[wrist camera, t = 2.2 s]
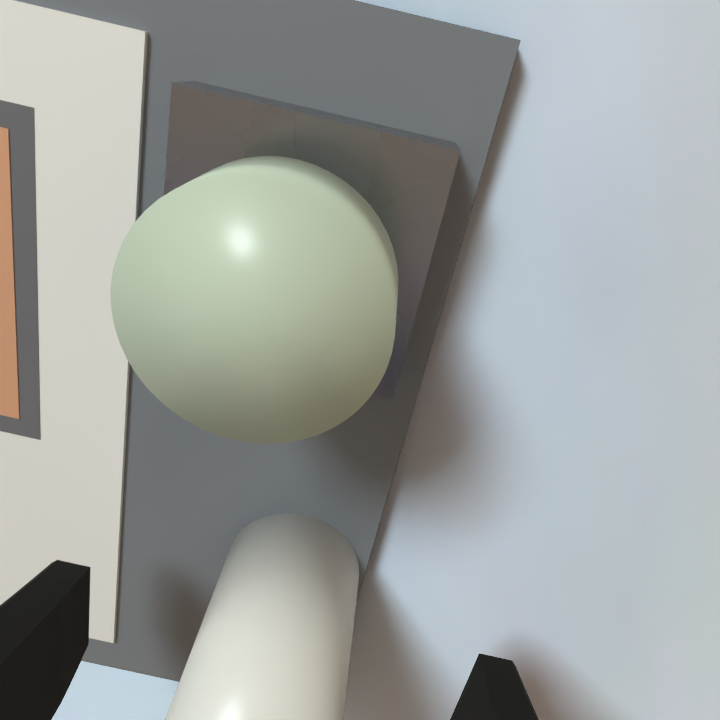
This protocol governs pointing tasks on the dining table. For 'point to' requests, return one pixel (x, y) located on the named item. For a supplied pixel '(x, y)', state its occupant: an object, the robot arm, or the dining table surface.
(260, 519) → the marker
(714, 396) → the dining table surface
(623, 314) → the dining table surface
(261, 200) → the button
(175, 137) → the button housing
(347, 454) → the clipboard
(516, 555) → the dining table surface
